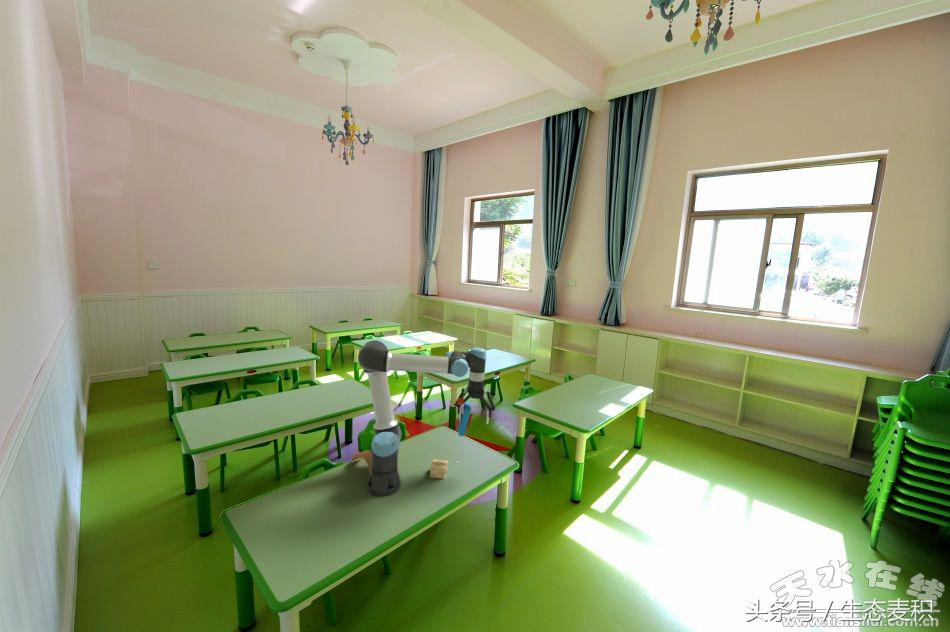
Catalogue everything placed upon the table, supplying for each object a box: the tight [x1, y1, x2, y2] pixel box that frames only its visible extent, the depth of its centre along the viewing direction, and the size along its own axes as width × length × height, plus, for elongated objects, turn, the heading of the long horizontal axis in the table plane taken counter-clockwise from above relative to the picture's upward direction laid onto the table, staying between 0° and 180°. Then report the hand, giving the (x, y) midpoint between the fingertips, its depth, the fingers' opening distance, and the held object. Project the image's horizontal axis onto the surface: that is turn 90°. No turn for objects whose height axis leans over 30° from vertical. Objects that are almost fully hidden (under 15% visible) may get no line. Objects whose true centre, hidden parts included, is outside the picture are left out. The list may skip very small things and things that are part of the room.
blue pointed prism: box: [456, 396, 472, 437], centre depth 189 cm, size 7×7×18 cm
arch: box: [351, 450, 372, 474], centre depth 188 cm, size 6×20×10 cm, turn 46°
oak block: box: [429, 459, 449, 480], centre depth 188 cm, size 7×7×7 cm
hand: (473, 421), depth 191 cm, fingers open, 13 cm apart
